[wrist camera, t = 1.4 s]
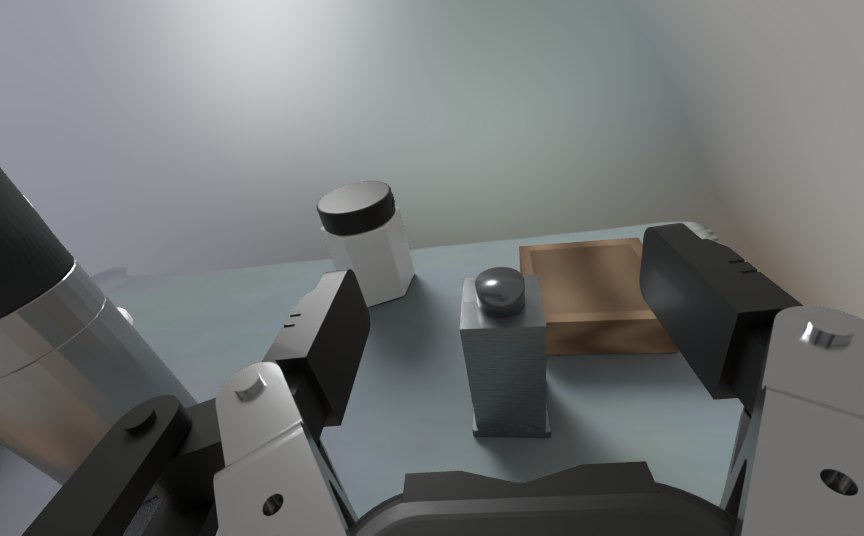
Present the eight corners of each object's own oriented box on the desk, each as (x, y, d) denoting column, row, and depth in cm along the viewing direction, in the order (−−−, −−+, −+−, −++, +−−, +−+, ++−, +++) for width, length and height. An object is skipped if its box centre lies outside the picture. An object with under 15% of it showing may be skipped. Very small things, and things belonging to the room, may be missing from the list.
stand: (529, 355, 34) (528, 323, 31) (520, 275, 43) (519, 246, 41) (677, 352, 31) (687, 317, 29) (632, 268, 41) (638, 237, 39)
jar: (428, 278, 46) (409, 187, 39) (378, 316, 42) (346, 221, 35) (383, 258, 52) (359, 175, 45) (334, 289, 47) (300, 203, 41)
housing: (473, 436, 28) (450, 314, 21) (475, 376, 33) (457, 259, 26) (550, 438, 27) (552, 309, 20) (541, 375, 32) (541, 253, 25)
